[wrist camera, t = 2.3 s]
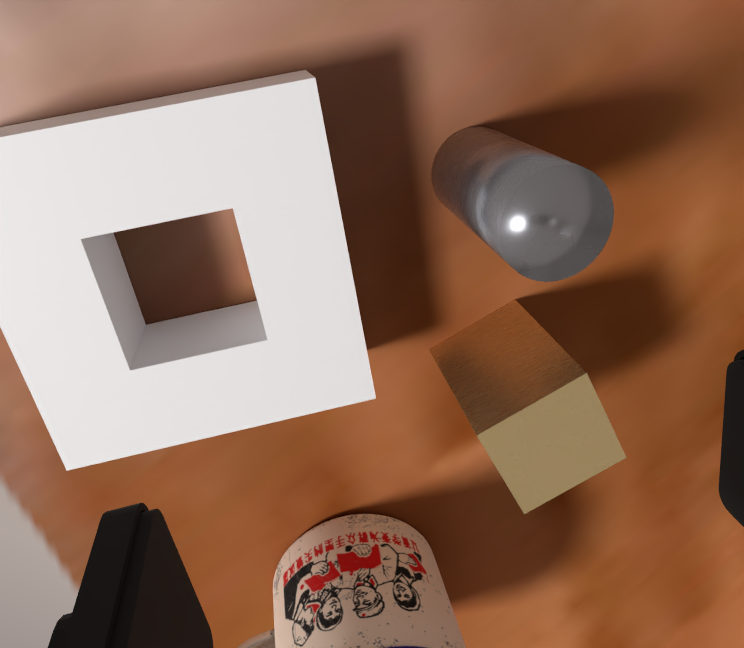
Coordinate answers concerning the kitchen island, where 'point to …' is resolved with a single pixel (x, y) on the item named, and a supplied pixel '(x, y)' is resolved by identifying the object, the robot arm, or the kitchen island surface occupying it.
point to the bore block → (193, 332)
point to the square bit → (528, 405)
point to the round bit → (524, 202)
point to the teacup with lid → (360, 590)
